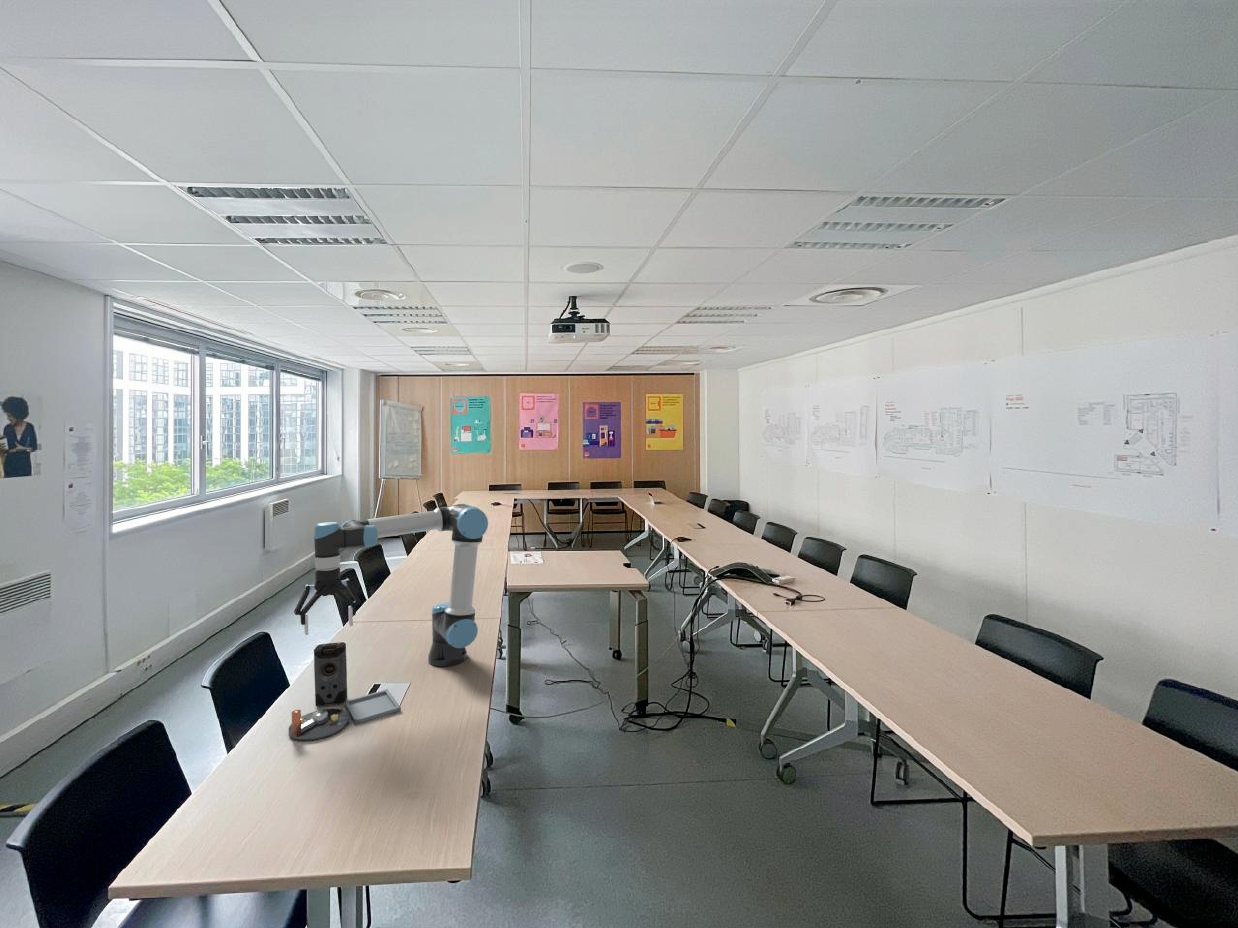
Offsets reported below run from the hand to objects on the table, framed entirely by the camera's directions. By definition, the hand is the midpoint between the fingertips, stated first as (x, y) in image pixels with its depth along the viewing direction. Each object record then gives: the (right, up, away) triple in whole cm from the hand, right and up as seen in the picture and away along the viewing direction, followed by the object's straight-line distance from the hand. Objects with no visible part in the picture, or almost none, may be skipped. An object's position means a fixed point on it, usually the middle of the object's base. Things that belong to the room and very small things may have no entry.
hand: (329, 629), depth 186 cm
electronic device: (0, -26, +2) cm, 26 cm away
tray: (+16, -26, -3) cm, 31 cm away
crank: (+3, -25, -17) cm, 31 cm away
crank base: (+5, -27, -14) cm, 30 cm away
